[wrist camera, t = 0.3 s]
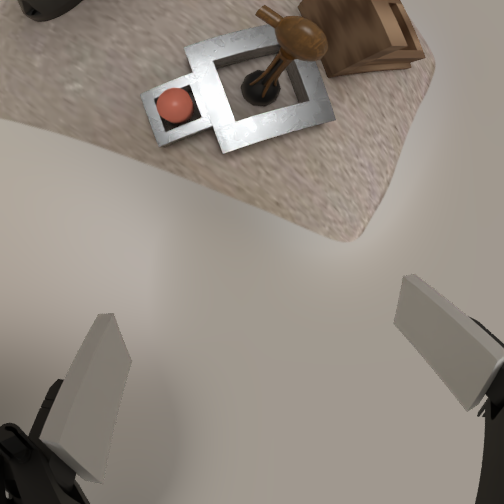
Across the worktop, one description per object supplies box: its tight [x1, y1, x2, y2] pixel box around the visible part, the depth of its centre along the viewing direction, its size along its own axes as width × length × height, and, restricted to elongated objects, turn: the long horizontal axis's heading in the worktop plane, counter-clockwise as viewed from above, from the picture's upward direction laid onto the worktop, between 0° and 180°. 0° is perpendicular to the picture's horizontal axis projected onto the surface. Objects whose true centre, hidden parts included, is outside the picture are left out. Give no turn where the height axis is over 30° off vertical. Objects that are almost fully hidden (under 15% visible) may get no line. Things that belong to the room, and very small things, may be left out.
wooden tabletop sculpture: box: [241, 5, 328, 106], centre depth 22 cm, size 6×5×20 cm
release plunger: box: [157, 88, 195, 125], centre depth 27 cm, size 4×4×5 cm
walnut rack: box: [298, 0, 425, 78], centre depth 22 cm, size 12×14×16 cm
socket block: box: [140, 25, 336, 154], centre depth 29 cm, size 14×20×4 cm
